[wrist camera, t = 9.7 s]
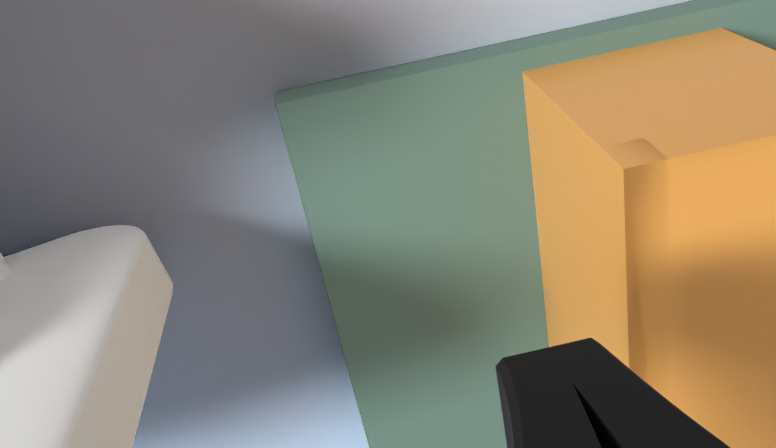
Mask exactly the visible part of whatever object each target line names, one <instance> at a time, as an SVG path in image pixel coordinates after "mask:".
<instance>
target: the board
mask: <svg viewBox="0 0 776 448" xmlns="http://www.w3.org/2000/svg"><path fill="white" fill-rule="evenodd" d="M718 28H723V29H725V30H728V31H730V32H732V33H735V34H737V35H740V36H742V37H744V38H747V39H749V40H752V41H754V42H756V43H759V44H761V45H764V46H766V47H768V48H771V49H773V50H775V51H776V0H694V1H689V2H684V3H680V4H675V5H671V6H666V7H662V8H657V9H653V10H648V11H643V12H639V13H634V14H630V15H625V16H621V17H616V18H611V19H607V20H602V21H598V22H593V23H589V24H584V25H580V26H575V27H570V28H566V29H561V30H557V31H552V32H548V33H543V34H539V35H534V36H529V37H525V38H520V39H516V40H511V41H507V42H502V43H498V44H493V45H488V46H484V47H479V48H475V49H470V50H466V51H461V52H457V53H452V54H447V55H443V56H438V57H434V58H429V59H425V60H420V61H415V62H411V63H406V64H402V65H397V66H393V67H388V68H384V69H379V70H374V71H370V72H365V73H361V74H356V75H352V76H347V77H343V78H338V79H333V80H329V81H324V82H320V83H315V84H311V85H306V86H302V87H297V88H292V89H288V90H283V91H279V92H276V104H275V105H276V108H277V112H278V116H279V119H280V123H281V127H282V130H283V134H284V138H285V141H286V145H287V149H288V152H289V156H290V159H291V163H292V167H293V170H294V174H295V178H296V181H297V185H298V189H299V192H300V196H301V200H302V203H303V207H304V211H305V214H306V218H307V221H308V225H309V229H310V232H311V236H312V240H313V243H314V247H315V251H316V254H317V258H318V262H319V265H320V269H321V273H322V276H323V280H324V283H325V287H326V291H327V294H328V298H329V302H330V305H331V309H332V313H333V316H334V320H335V324H336V327H337V331H338V335H339V338H340V342H341V345H342V349H343V353H344V356H345V360H346V364H347V367H348V371H349V375H350V378H351V382H352V386H353V389H354V393H355V397H356V400H357V404H358V407H359V411H360V415H361V418H362V422H363V426H364V429H365V433H366V437H367V440H368V444H369V448H507V442H506V435H505V429H504V422H503V415H502V408H501V401H500V394H499V387H498V381H497V374H496V367H495V366H496V365H497V364H498V363H499V362H500V360H501V359H502V358H504V357H508V356H512V355H517V354H521V353H526V352H530V351H534V350H539V349H543V348H547V347H549V343H548V333H547V322H546V312H545V301H544V291H543V281H542V270H541V260H540V250H539V239H538V229H537V219H536V208H535V198H534V188H533V177H532V167H531V157H530V146H529V136H528V126H527V115H526V105H525V95H524V84H523V74H522V71H527V70H531V69H536V68H541V67H545V66H550V65H554V64H559V63H563V62H568V61H572V60H577V59H582V58H586V57H591V56H595V55H600V54H604V53H609V52H613V51H618V50H622V49H627V48H632V47H636V46H641V45H645V44H650V43H654V42H659V41H663V40H668V39H673V38H677V37H682V36H686V35H691V34H695V33H700V32H704V31H709V30H714V29H718Z"/></svg>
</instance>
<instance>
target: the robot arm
mask: <svg viewBox="0 0 776 448" xmlns="http://www.w3.org/2000/svg"><path fill="white" fill-rule="evenodd" d="M495 367H496V374H497V381H498V387H499V394H500V401H501V408H502V415H503V422H504V429H505V435H506V442H507V448H730V447H729V446H728V445H726V444H725V443H724V442H722V441H721V440H720V439H718V438H717V437H716V436H714V435H713V434H712V433H710V432H709V431H708V430H706V429H705V428H704V427H702V426H701V425H700V424H698V423H697V422H696V421H694V420H693V419H692V418H690V417H689V416H688V415H686V414H685V413H684V412H683V411H681V410H680V409H679V408H677V407H676V406H675V405H674V404H672V403H671V402H670V401H668V400H667V399H666V398H665V397H664V396H662V395H661V394H660V393H659V392H657V391H656V390H655V389H654V388H652V387H651V386H650V385H649V384H647V383H646V382H645V381H644V380H643V379H641V378H640V377H639V376H638V375H637V374H635V373H634V372H633V371H632V370H631V369H629V368H628V367H627V366H626V365H625V364H623V363H622V362H621V361H620V360H619V359H618V358H616V357H615V356H614V355H613V354H612V353H611V352H609V351H608V350H607V349H606V348H605V347H604V346H602V345H601V344H600V343H599V342H597V341H596V340H594V339H593V338H587V339H582V340H578V341H574V342H569V343H565V344H561V345H556V346H552V347H547V348H543V349H539V350H534V351H530V352H526V353H521V354H517V355H512V356H508V357H504V358H502V359H501V360H500V362H499V363H498V364H497V365H496V366H495Z"/></svg>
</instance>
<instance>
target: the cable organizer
mask: <svg viewBox="0 0 776 448" xmlns="http://www.w3.org/2000/svg"><path fill="white" fill-rule="evenodd" d="M172 294H173V283H172V280H171V279H170V277H169V275H168V273H167V271H166V270H165V268H164V266H163V264H162V263H161V261H160V259H159V257H158V255H157V254H156V252H155V250H154V248H153V246H152V245H151V243H150V241H149V239H148V237H147V236H146V234H145V232H144V231H142V230H141V229H140V228H138V227H135V226H130V225H111V226H103V227H98V228H93V229H88V230H84V231H80V232H77V233H73V234H70V235H67V236H64V237H61V238H58V239H55V240H52V241H49V242H46V243H44V244H41V245H38V246H35V247H32V248H29V249H26V250H23V251H20V252H17V253H14V254H11V255H9V256H6V257H3V256H2V254H1V253H0V448H133V444H134V440H135V437H136V433H137V429H138V425H139V421H140V417H141V413H142V410H143V406H144V402H145V398H146V394H147V390H148V387H149V383H150V379H151V375H152V371H153V367H154V363H155V360H156V356H157V352H158V348H159V344H160V340H161V337H162V333H163V329H164V325H165V321H166V317H167V313H168V310H169V306H170V302H171V298H172Z"/></svg>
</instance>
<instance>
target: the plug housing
mask: <svg viewBox="0 0 776 448" xmlns="http://www.w3.org/2000/svg"><path fill="white" fill-rule="evenodd" d="M522 74H523V84H524V95H525V105H526V115H527V126H528V136H529V146H530V157H531V167H532V177H533V188H534V198H535V208H536V219H537V229H538V239H539V250H540V260H541V270H542V281H543V291H544V301H545V312H546V322H547V333H548V343H549V347H552V346H556V345H561V344H565V343H569V342H574V341H578V340H582V339H587V338H593V339H594V340H596V341H597V342H599V343H600V344H601V345H602V346H604V347H605V348H606V349H607V350H608V351H609V352H611V353H612V354H613V355H614V356H615V357H616V358H618V359H619V360H620V361H621V362H622V363H623V364H625V365H626V366H627V367H628V368H629V369H631V370H632V371H633V372H634V373H635V374H637V375H638V376H639V377H640V378H641V379H643V380H644V381H645V382H646V383H647V384H649V385H650V386H651V387H652V388H654V389H655V390H656V391H657V392H659V393H660V394H661V395H662V396H664V397H665V398H666V399H667V400H668V401H670V402H671V403H672V404H674V405H675V406H676V407H677V408H679V409H680V410H681V411H683V412H684V413H685V414H686V415H688V416H689V417H690V418H692V419H693V420H694V421H696V422H697V423H698V424H700V425H701V426H702V427H704V428H705V429H706V430H708V431H709V432H710V433H712V434H713V435H714V436H716V437H717V438H718V439H720V440H721V441H722V442H724V443H725V444H726V445H728V446H729V447H730V448H776V51H775V50H773V49H771V48H768V47H766V46H764V45H761V44H759V43H756V42H754V41H752V40H749V39H747V38H744V37H742V36H740V35H737V34H735V33H732V32H730V31H728V30H725V29H723V28H718V29H714V30H709V31H704V32H700V33H695V34H691V35H686V36H682V37H677V38H673V39H668V40H663V41H659V42H654V43H650V44H645V45H641V46H636V47H632V48H627V49H622V50H618V51H613V52H609V53H604V54H600V55H595V56H591V57H586V58H582V59H577V60H572V61H568V62H563V63H559V64H554V65H550V66H545V67H541V68H536V69H531V70H527V71H522Z"/></svg>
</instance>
